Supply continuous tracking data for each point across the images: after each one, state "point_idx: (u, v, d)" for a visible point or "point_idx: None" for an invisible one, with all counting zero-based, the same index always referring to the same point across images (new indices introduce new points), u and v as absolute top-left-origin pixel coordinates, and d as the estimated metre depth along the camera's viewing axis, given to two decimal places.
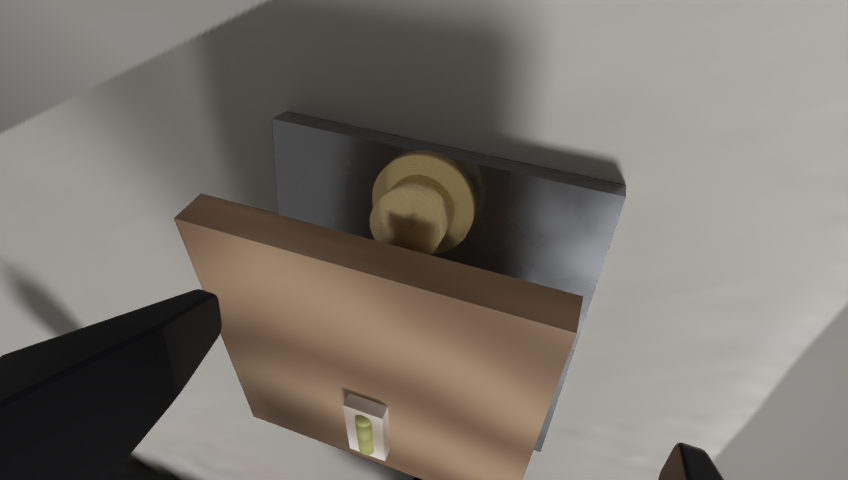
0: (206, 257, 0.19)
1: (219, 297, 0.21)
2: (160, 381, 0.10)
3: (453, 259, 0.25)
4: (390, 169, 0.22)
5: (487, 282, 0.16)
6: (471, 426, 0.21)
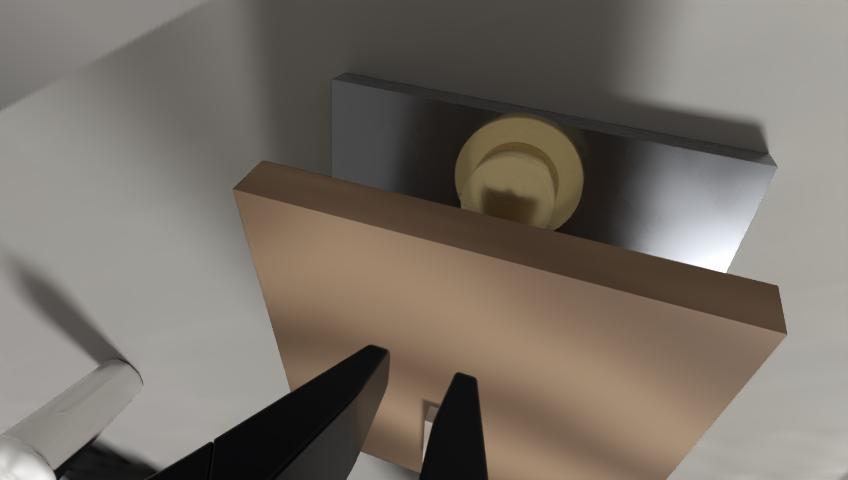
0: (269, 238, 0.15)
1: (279, 290, 0.17)
2: (347, 451, 0.09)
3: None
4: (481, 136, 0.18)
5: (648, 268, 0.13)
6: (588, 447, 0.17)
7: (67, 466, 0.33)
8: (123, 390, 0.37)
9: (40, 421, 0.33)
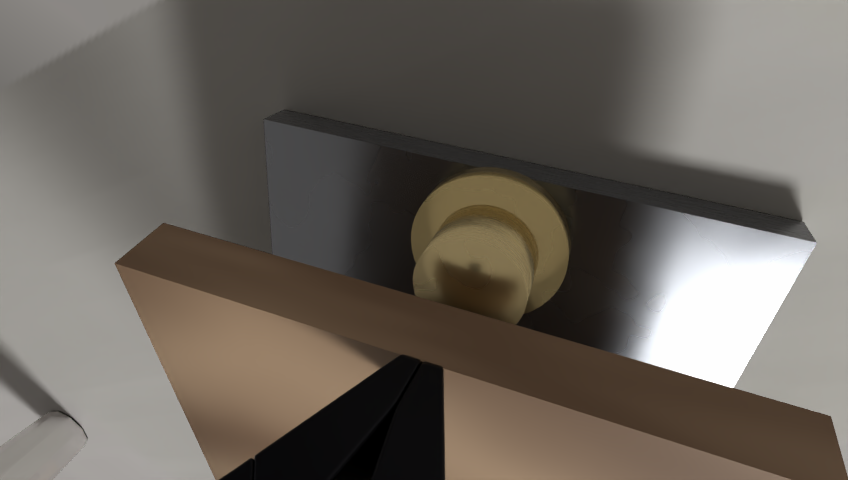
0: (168, 323, 0.12)
1: (189, 381, 0.14)
2: None
3: (523, 322, 0.17)
4: (441, 196, 0.15)
5: (655, 388, 0.09)
6: None
7: None
8: (62, 448, 0.33)
9: None
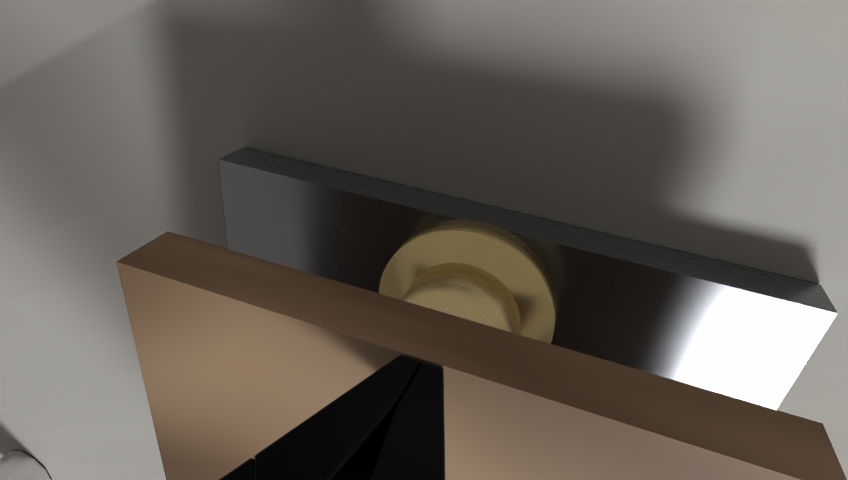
0: (160, 331, 0.12)
1: (170, 402, 0.13)
2: None
3: None
4: (411, 251, 0.13)
5: (652, 392, 0.09)
6: None
7: None
8: None
9: None
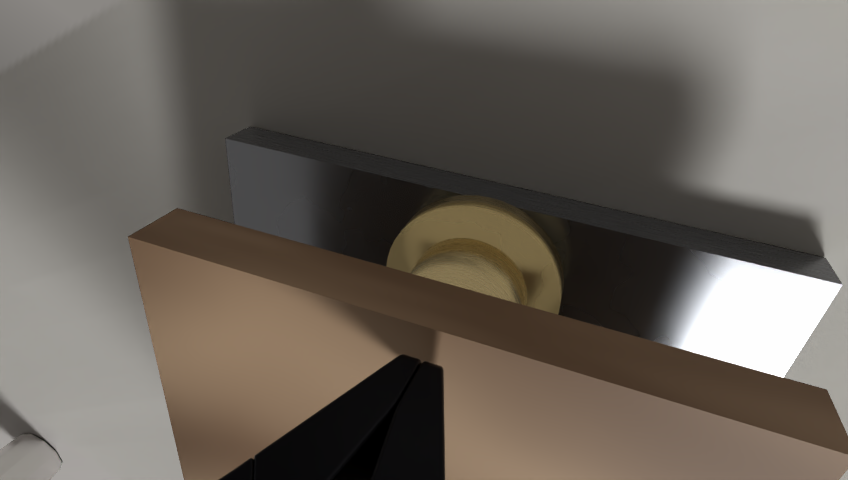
0: (171, 306, 0.12)
1: (182, 376, 0.13)
2: None
3: None
4: (418, 227, 0.13)
5: (658, 360, 0.10)
6: None
7: None
8: (34, 473, 0.31)
9: None
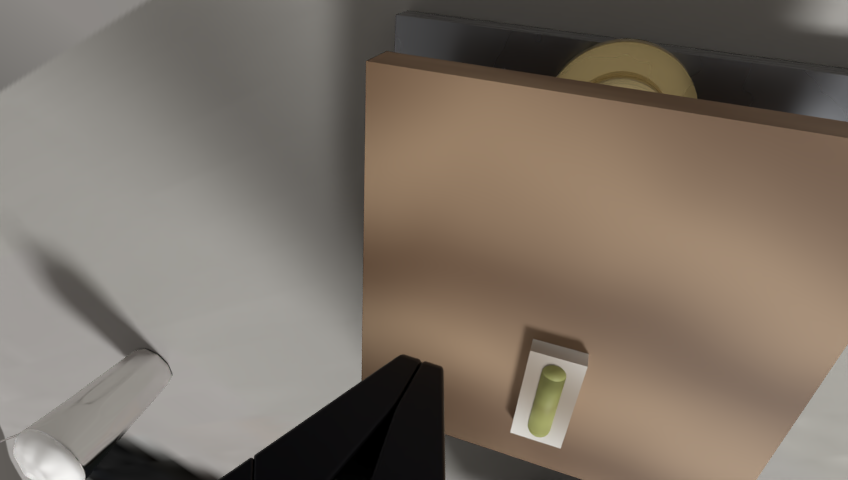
0: (392, 123, 0.15)
1: (386, 194, 0.16)
2: None
3: None
4: (577, 66, 0.16)
5: (806, 120, 0.12)
6: (717, 369, 0.15)
7: (96, 461, 0.31)
8: (152, 381, 0.35)
9: (67, 414, 0.30)
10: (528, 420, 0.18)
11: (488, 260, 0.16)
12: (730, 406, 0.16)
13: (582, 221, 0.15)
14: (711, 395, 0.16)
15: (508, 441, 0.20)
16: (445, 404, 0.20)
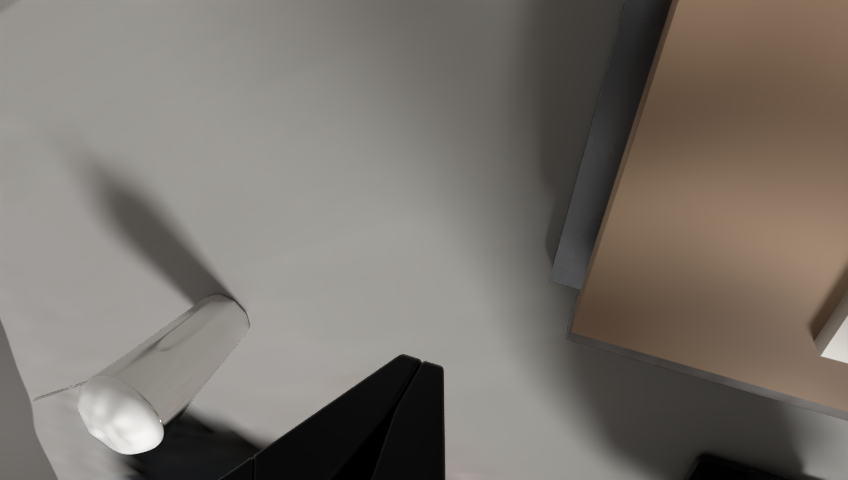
0: None
1: None
2: None
3: None
4: None
5: None
6: None
7: (175, 419, 0.26)
8: (231, 331, 0.30)
9: (142, 361, 0.25)
10: None
11: None
12: None
13: None
14: None
15: (793, 374, 0.15)
16: (708, 323, 0.15)
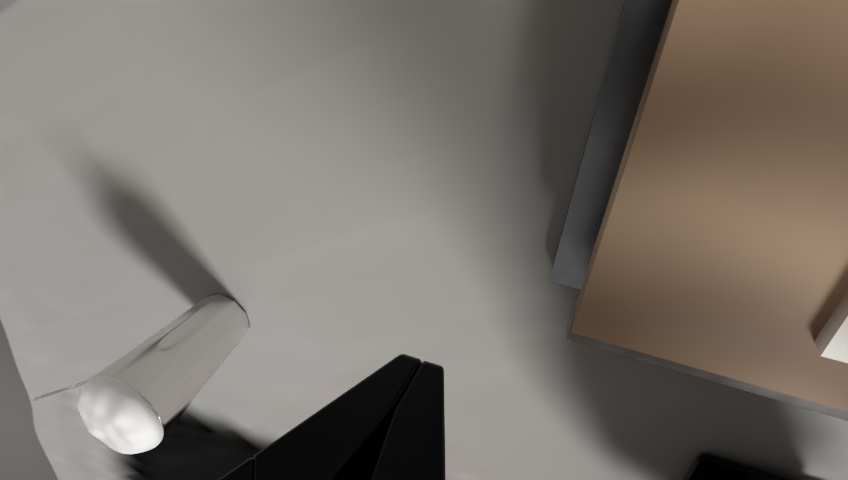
0: None
1: None
2: None
3: None
4: None
5: None
6: None
7: (175, 419, 0.26)
8: (231, 331, 0.30)
9: (142, 361, 0.25)
10: None
11: None
12: None
13: None
14: None
15: (793, 373, 0.15)
16: (708, 323, 0.15)
